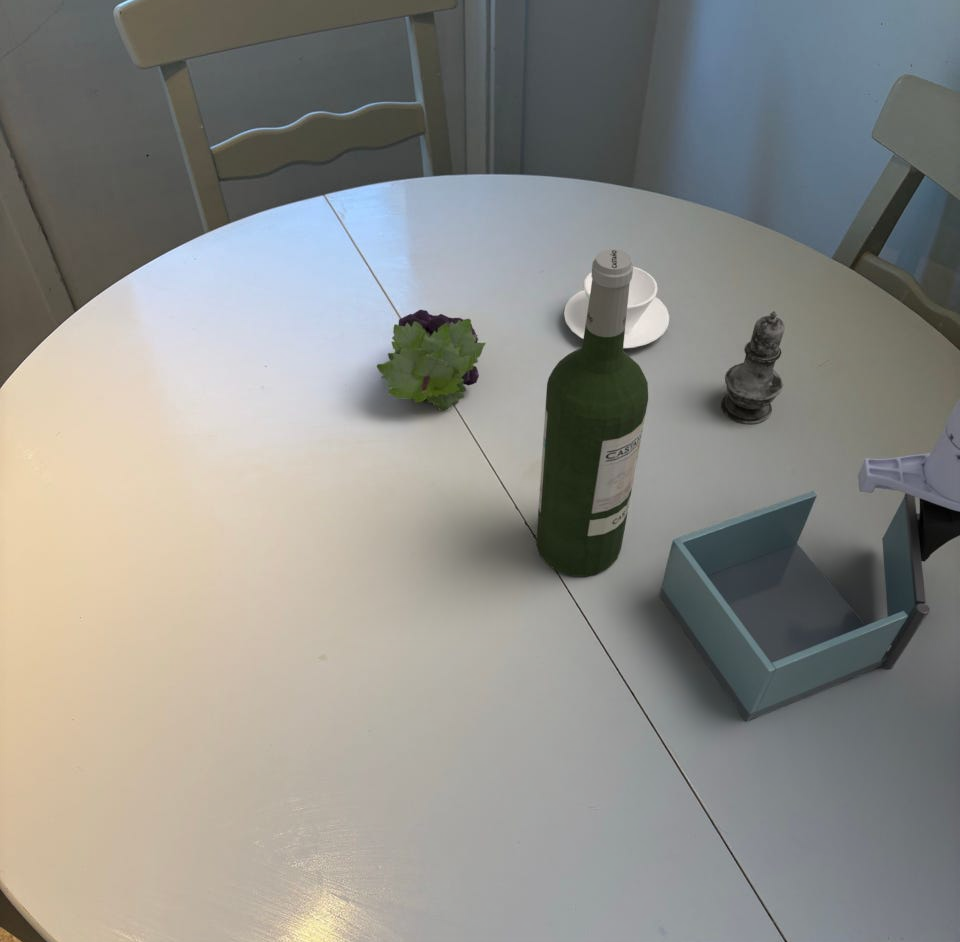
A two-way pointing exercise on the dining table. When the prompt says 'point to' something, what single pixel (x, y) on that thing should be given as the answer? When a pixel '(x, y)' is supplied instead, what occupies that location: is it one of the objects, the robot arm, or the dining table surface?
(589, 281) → the teacup
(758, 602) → the light blue open box
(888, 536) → the blue flat panel
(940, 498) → the robot arm
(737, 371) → the grey chess piece
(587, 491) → the wine bottle
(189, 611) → the dining table surface
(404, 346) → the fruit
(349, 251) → the dining table surface
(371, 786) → the dining table surface
